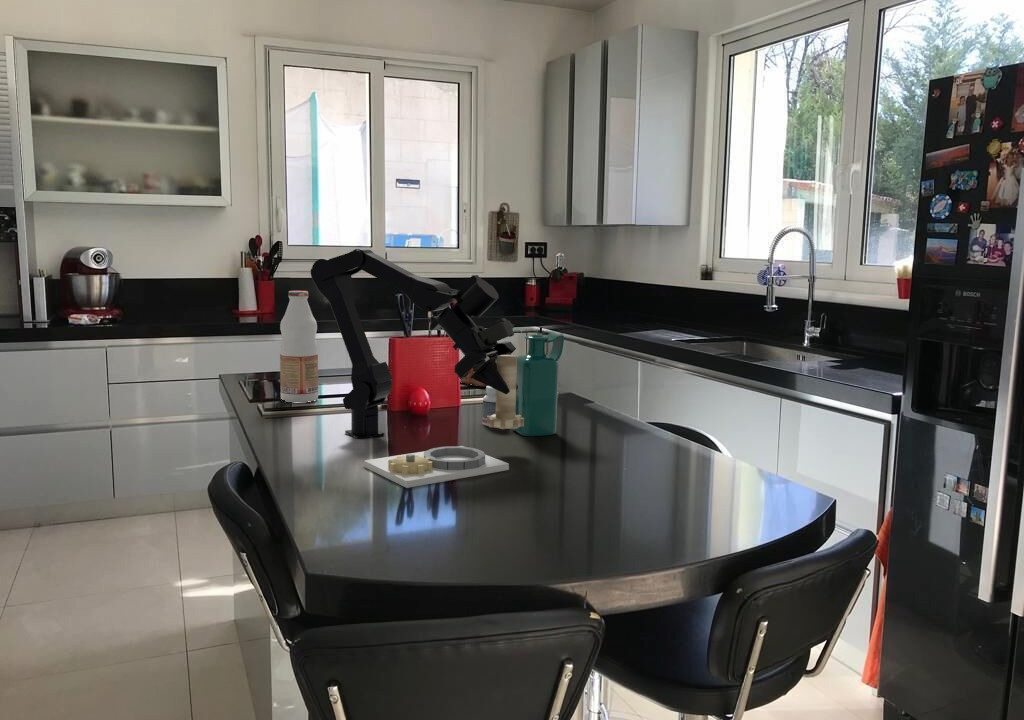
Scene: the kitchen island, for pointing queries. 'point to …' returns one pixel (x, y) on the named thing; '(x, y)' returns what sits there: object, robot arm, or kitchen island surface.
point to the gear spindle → (506, 396)
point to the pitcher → (538, 385)
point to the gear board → (436, 472)
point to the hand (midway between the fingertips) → (512, 391)
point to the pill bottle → (489, 404)
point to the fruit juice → (298, 351)
